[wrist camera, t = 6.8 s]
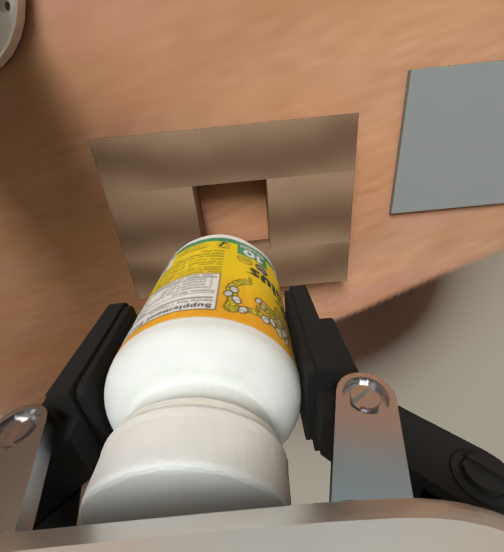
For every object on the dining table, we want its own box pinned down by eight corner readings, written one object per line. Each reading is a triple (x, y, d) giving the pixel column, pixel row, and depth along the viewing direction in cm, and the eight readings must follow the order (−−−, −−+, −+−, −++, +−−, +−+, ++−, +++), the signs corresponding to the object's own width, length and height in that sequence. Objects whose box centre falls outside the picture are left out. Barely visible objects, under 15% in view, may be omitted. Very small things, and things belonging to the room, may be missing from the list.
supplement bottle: (147, 251, 13) (-41, 478, 5) (259, 215, 12) (289, 400, 4) (193, 340, 15) (126, 601, 7) (289, 314, 15) (350, 565, 6)
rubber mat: (408, 70, 22) (411, 69, 22) (554, 55, 22) (559, 54, 21) (389, 212, 27) (391, 213, 27) (507, 201, 27) (510, 202, 26)
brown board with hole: (102, 138, 23) (87, 140, 21) (347, 114, 23) (358, 112, 21) (146, 287, 30) (139, 299, 28) (338, 269, 30) (346, 280, 27)
